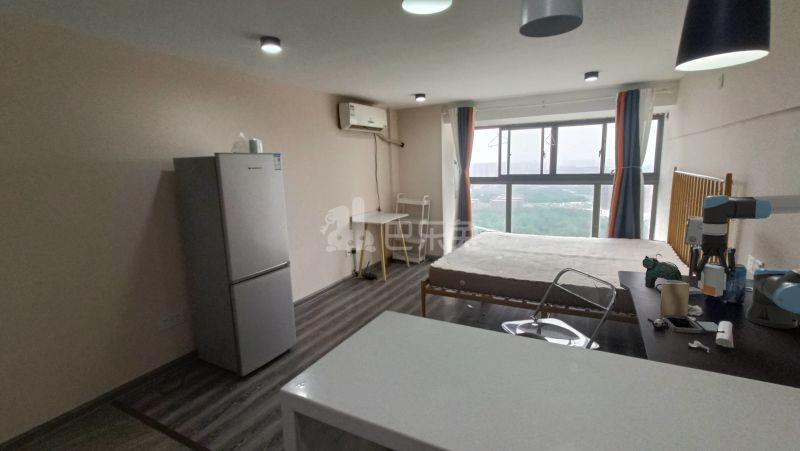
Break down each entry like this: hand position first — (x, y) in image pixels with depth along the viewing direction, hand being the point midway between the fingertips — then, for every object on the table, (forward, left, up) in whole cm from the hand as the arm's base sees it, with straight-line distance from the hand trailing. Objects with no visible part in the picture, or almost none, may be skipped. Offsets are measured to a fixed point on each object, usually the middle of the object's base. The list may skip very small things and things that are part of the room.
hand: (711, 288), depth 145 cm
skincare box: (0, 0, -3) cm, 3 cm away
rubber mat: (0, 0, -17) cm, 17 cm away
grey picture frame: (+10, 0, -17) cm, 20 cm away
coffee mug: (+3, -31, -17) cm, 36 cm away
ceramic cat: (+1, -50, -17) cm, 53 cm away
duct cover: (+10, -7, -8) cm, 15 cm away
